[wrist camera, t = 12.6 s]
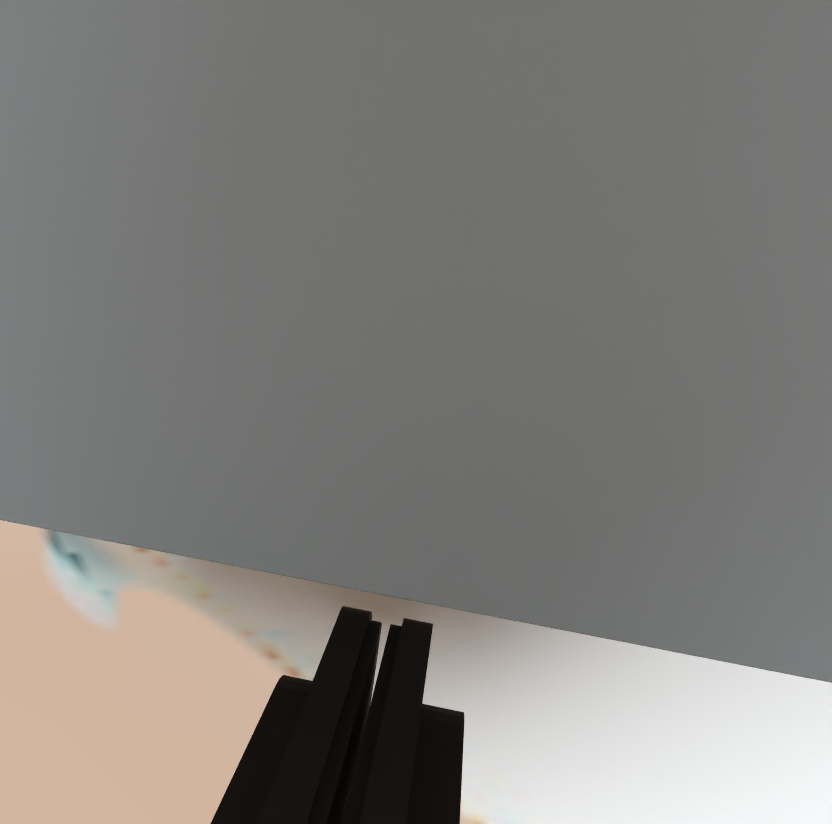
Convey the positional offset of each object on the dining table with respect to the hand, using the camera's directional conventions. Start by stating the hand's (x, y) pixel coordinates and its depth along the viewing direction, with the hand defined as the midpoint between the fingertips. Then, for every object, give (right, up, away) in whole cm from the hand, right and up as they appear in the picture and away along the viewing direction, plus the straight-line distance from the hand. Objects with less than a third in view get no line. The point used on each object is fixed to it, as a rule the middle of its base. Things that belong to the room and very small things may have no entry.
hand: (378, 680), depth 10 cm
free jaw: (+1, +7, -1) cm, 8 cm away
